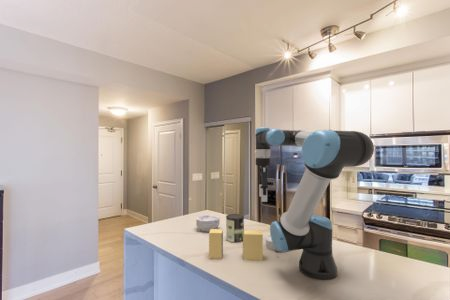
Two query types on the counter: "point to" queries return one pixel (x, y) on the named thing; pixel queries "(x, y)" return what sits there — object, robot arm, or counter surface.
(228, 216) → the coffee can
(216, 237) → the stub
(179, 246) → the counter surface
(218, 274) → the counter surface
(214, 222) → the paper bowls
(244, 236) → the tall yellow box
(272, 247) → the ramekin
